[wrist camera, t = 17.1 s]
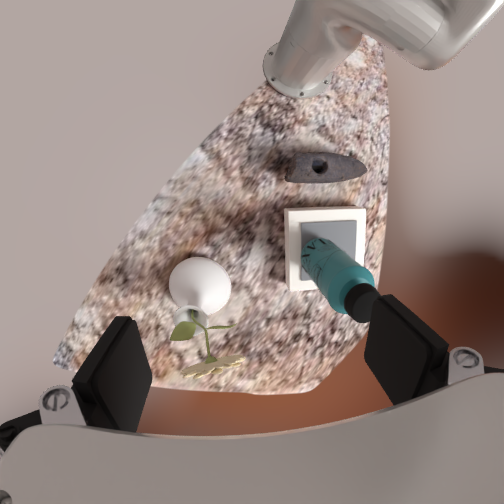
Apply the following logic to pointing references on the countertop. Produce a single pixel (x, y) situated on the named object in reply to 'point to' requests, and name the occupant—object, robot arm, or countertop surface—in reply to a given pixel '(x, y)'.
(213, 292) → the flower in vase
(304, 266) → the beverage bottle
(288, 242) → the white picture frame
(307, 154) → the perforated stone tool
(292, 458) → the robot arm
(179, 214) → the countertop surface
